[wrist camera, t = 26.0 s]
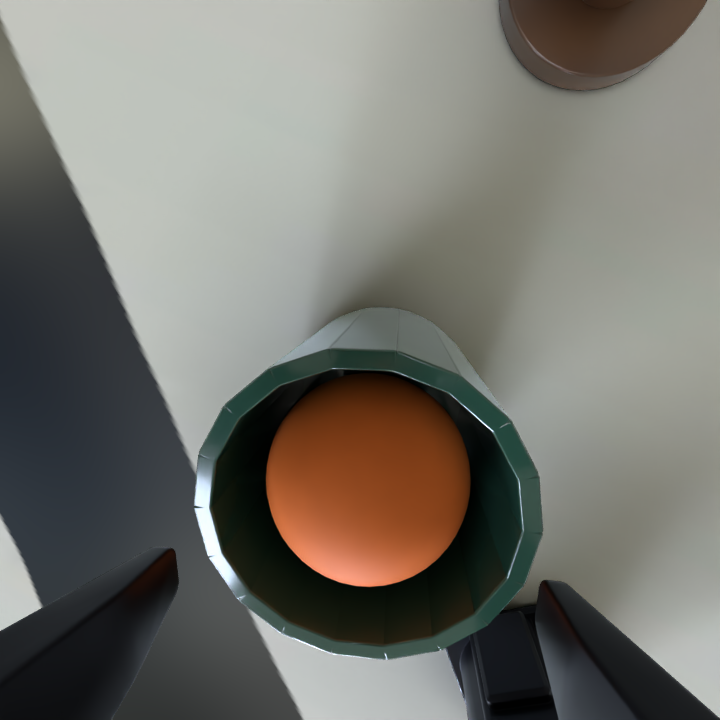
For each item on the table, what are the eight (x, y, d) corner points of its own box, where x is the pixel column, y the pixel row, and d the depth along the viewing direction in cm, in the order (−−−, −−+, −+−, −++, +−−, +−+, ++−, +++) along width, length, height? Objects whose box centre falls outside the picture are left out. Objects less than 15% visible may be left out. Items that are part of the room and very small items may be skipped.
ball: (482, 558, 13) (542, 529, 8) (307, 615, 12) (251, 623, 7) (420, 403, 16) (434, 310, 11) (279, 442, 16) (226, 365, 10)
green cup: (491, 447, 19) (582, 627, 10) (329, 489, 21) (267, 681, 11) (441, 281, 18) (488, 295, 8) (270, 339, 19) (136, 411, 10)
